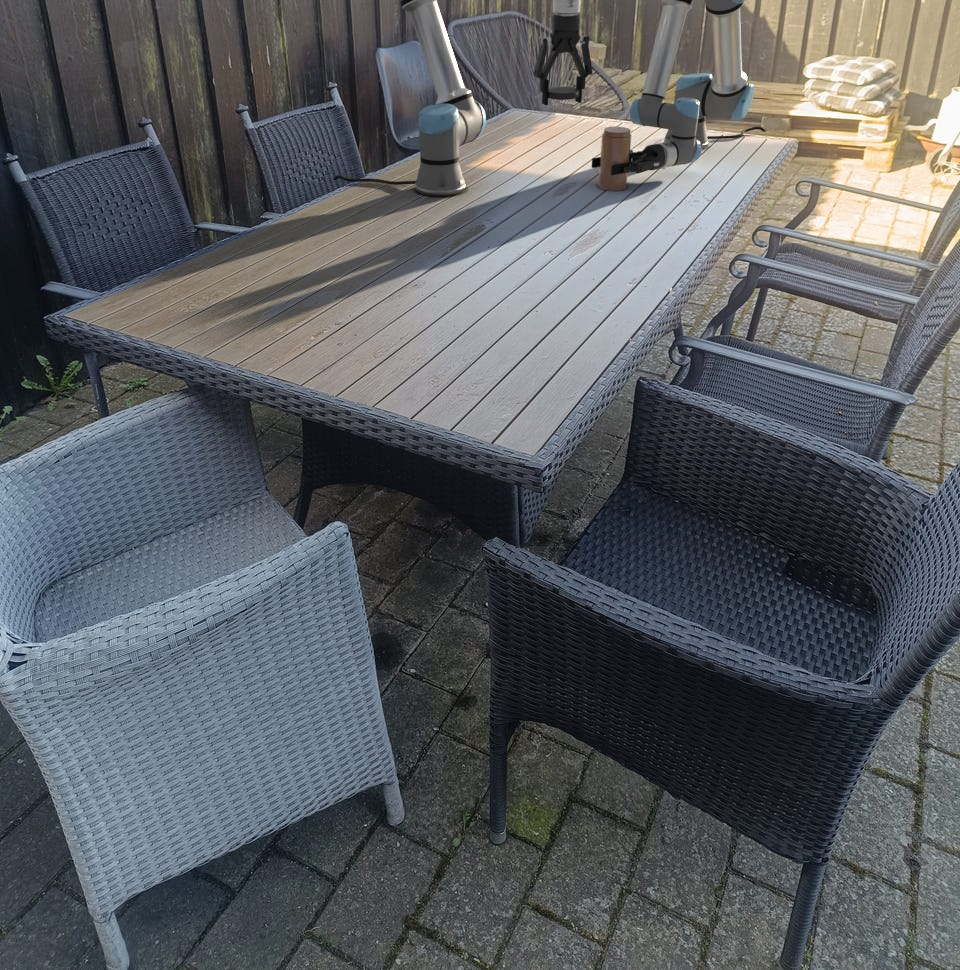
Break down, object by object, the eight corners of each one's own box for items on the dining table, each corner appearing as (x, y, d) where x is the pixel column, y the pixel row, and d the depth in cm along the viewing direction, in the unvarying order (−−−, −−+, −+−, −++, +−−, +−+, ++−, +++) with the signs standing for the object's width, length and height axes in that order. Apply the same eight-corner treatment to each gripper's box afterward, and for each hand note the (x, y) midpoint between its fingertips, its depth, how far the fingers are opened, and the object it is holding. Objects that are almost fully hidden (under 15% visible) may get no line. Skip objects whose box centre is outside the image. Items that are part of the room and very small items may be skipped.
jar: (600, 190, 258) (605, 133, 248) (595, 182, 265) (600, 126, 255) (628, 190, 258) (634, 132, 248) (623, 182, 265) (628, 125, 255)
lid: (584, 94, 241) (585, 88, 240) (570, 101, 234) (570, 94, 233) (554, 91, 245) (554, 85, 244) (539, 97, 238) (539, 91, 237)
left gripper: (532, 17, 222) (529, 108, 235) (609, 14, 228) (602, 103, 241) (522, 14, 228) (520, 103, 241) (598, 10, 233) (591, 97, 246)
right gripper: (680, 176, 260) (623, 188, 250) (634, 160, 275) (579, 171, 265) (683, 151, 256) (626, 162, 246) (637, 136, 270) (581, 146, 261)
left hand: (561, 103), depth 241 cm, fingers closed on lid, 10 cm apart
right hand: (602, 166), depth 255 cm, fingers closed on jar, 9 cm apart
